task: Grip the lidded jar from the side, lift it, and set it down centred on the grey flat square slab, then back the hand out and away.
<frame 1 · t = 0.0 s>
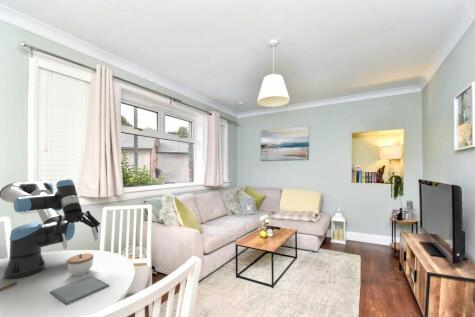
hand: (82, 243, 110), 15 cm above the table, tool tilted 35°, fingers open, 13 cm apart
lidded jar: (80, 273, 112), on the table
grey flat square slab: (80, 289, 96), on the table
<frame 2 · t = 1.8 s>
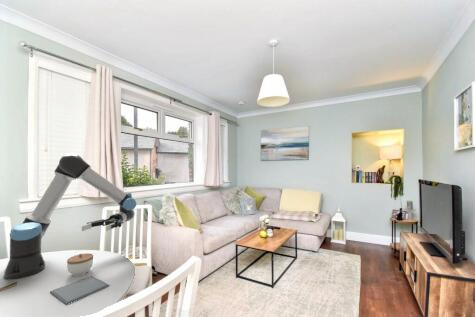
hand: (94, 228, 122), 19 cm above the table, tool horizontal, fingers open, 13 cm apart
nothing on the table moved.
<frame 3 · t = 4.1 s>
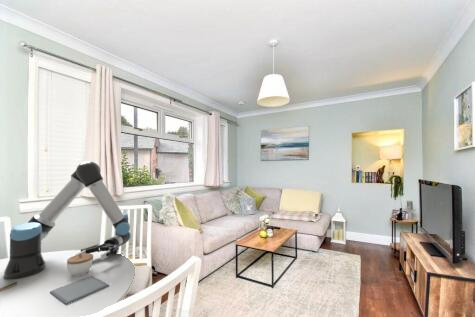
hand: (88, 257, 116), 6 cm above the table, tool horizontal, fingers open, 13 cm apart
nothing on the table moved.
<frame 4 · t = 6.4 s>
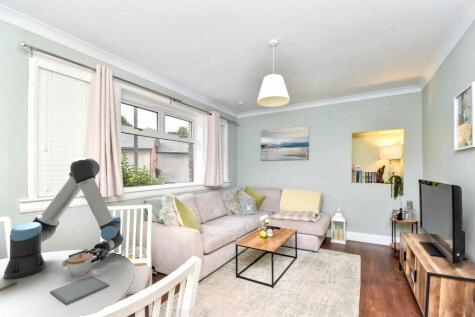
hand: (74, 264, 108), 6 cm above the table, tool horizontal, fingers closed on lidded jar, 11 cm apart
lidded jar: (80, 273, 112), on the table, touching gripper
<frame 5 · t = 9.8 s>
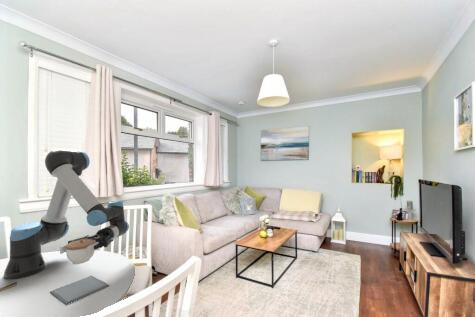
hand: (74, 250, 93), 18 cm above the table, tool horizontal, fingers closed on lidded jar, 11 cm apart
lidded jar: (81, 261, 97), point 12 cm above the table, touching gripper
when the fingers open (8 cm above the table, at t = 13.1 s): lidded jar drops 1 cm, resting on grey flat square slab.
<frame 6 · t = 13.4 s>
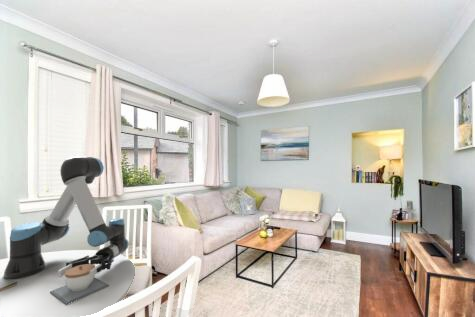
hand: (74, 274, 93), 8 cm above the table, tool horizontal, fingers open, 13 cm apart
lidded jar: (80, 288, 97), point 1 cm above the table, touching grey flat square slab
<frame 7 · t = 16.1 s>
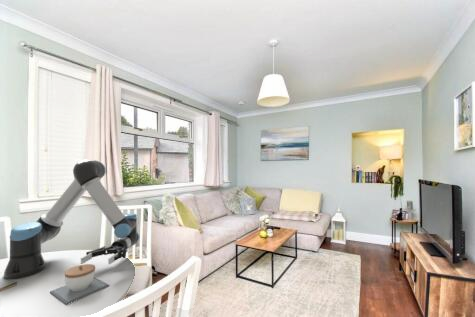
hand: (95, 261, 106), 8 cm above the table, tool horizontal, fingers open, 13 cm apart
nothing on the table moved.
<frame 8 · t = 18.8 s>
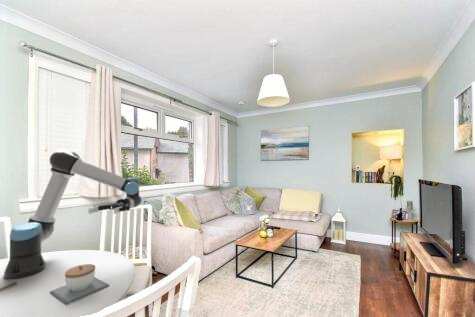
hand: (101, 211, 116), 30 cm above the table, tool horizontal, fingers open, 13 cm apart
nothing on the table moved.
at the end: lidded jar inside the target area on the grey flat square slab (0.1 cm from its centre), point 0.5 cm above the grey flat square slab's base; lidded jar tilted 0°; the gripper is holding nothing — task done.
